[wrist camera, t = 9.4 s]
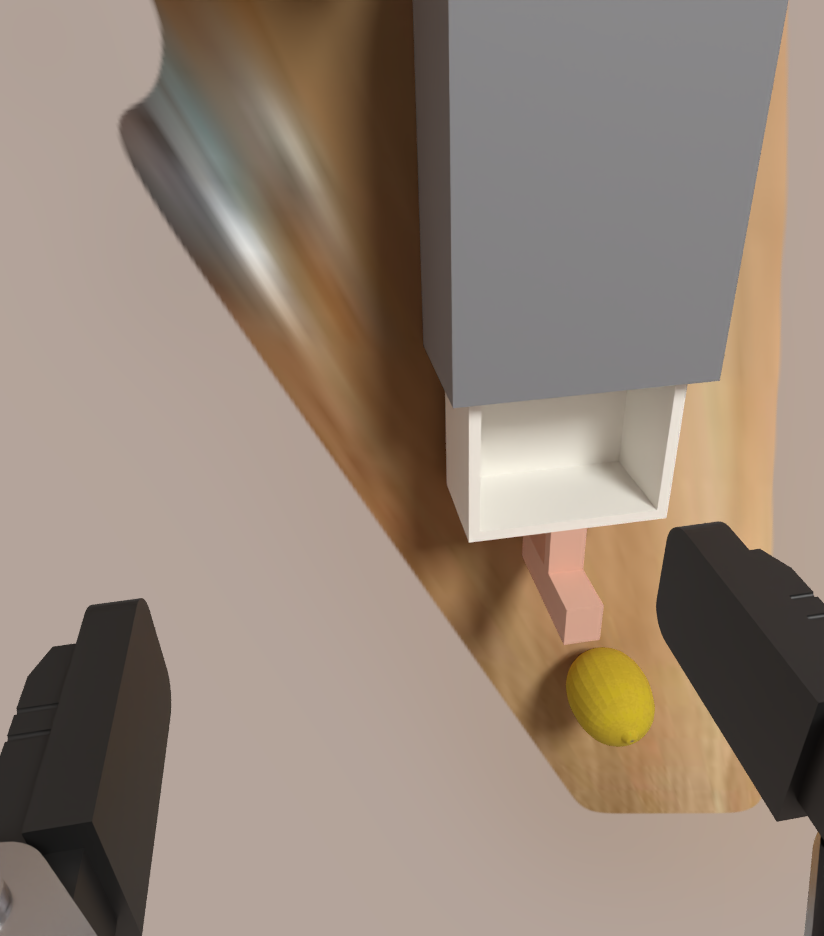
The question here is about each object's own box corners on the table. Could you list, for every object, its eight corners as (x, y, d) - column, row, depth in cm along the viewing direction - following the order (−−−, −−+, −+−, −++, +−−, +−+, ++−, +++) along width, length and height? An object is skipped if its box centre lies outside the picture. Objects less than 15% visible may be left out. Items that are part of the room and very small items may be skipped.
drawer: (441, 147, 36) (487, 181, 28) (662, 132, 38) (764, 162, 30) (447, 554, 48) (481, 656, 41) (615, 533, 50) (678, 628, 42)
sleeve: (409, -108, 32) (446, -144, 25) (704, -116, 33) (815, -150, 27) (423, 345, 42) (452, 408, 35) (649, 324, 44) (719, 380, 37)
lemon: (556, 689, 57) (594, 779, 51) (548, 636, 55) (587, 724, 48) (627, 669, 58) (674, 757, 51) (622, 615, 55) (672, 700, 48)
